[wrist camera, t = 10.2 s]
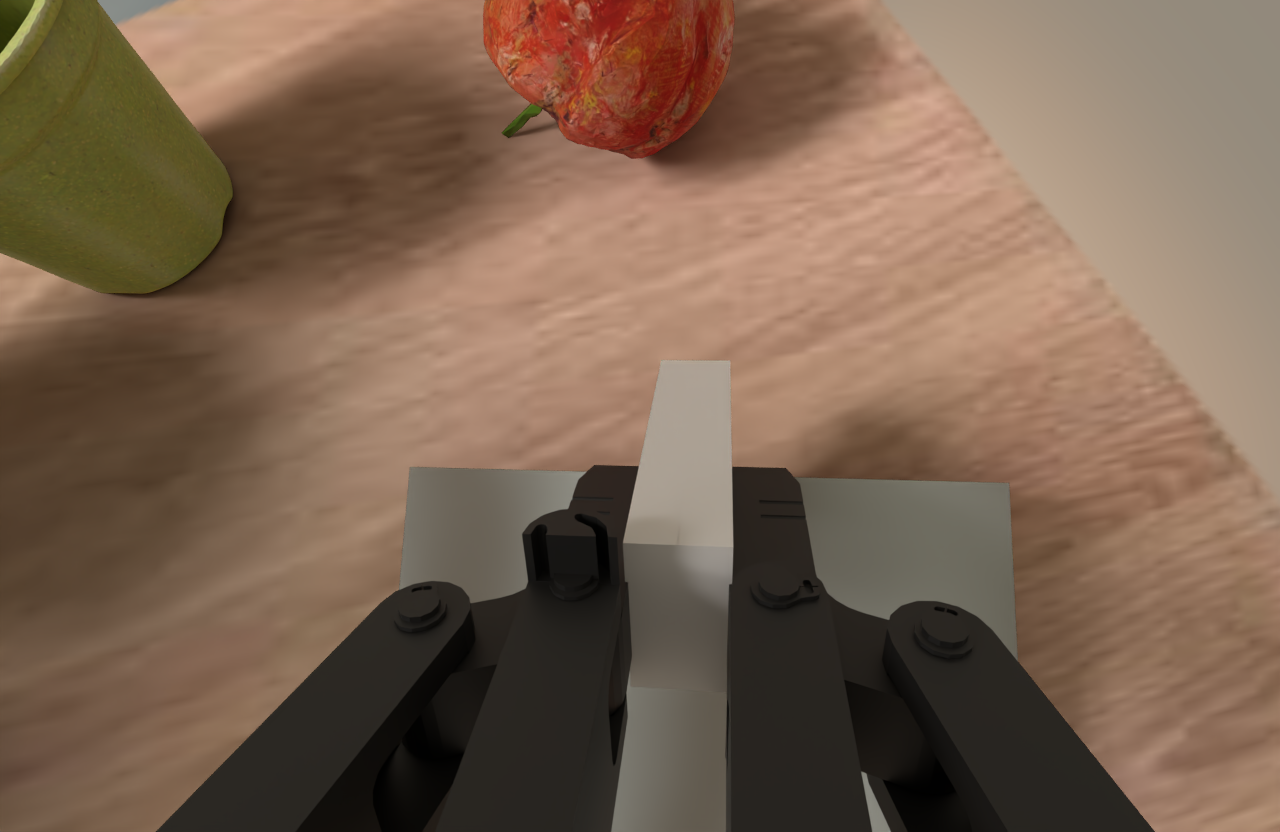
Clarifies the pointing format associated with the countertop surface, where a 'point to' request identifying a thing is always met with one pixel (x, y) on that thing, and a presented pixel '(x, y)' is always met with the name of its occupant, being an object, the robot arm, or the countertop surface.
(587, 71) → the pomegranate
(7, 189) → the plant pot
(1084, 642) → the countertop surface
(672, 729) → the grey flat slab
